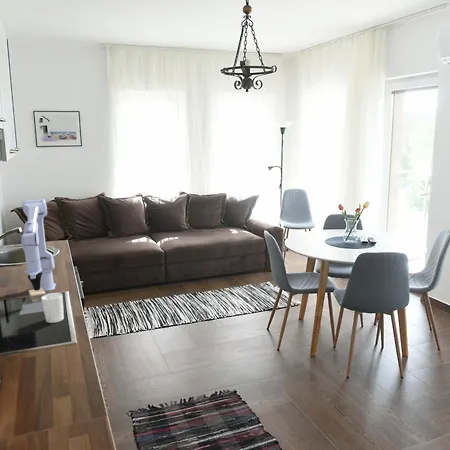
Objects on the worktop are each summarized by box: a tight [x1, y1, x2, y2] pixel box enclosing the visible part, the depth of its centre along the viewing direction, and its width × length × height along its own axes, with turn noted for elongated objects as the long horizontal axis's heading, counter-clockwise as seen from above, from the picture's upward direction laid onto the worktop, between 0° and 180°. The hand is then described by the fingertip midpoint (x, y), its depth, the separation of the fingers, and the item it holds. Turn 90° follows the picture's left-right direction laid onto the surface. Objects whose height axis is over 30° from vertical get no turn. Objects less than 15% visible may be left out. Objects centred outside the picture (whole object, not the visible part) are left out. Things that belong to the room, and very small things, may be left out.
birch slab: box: [28, 288, 47, 302], centre depth 212 cm, size 3×6×10 cm
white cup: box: [41, 292, 65, 324], centre depth 185 cm, size 8×8×10 cm
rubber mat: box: [18, 297, 44, 316], centre depth 205 cm, size 22×14×1 cm, turn 16°
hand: (37, 290), depth 203 cm, fingers closed
